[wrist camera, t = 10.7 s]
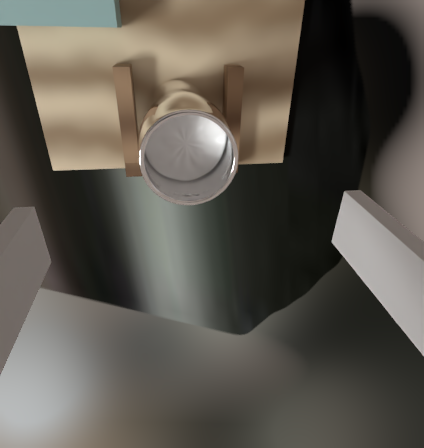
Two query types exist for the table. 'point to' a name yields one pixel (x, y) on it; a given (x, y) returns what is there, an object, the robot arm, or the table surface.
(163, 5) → the board
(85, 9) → the block
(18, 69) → the table surface
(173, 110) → the beer glass
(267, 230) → the table surface
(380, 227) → the robot arm
